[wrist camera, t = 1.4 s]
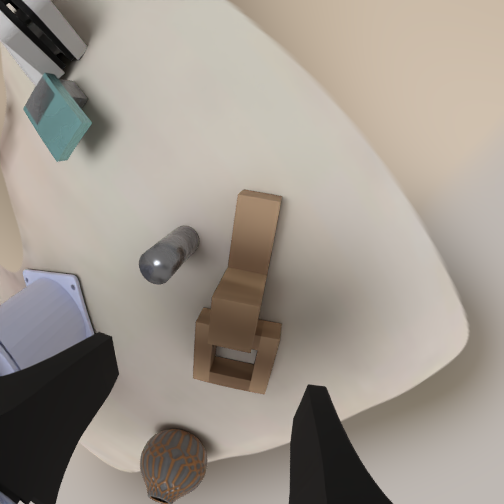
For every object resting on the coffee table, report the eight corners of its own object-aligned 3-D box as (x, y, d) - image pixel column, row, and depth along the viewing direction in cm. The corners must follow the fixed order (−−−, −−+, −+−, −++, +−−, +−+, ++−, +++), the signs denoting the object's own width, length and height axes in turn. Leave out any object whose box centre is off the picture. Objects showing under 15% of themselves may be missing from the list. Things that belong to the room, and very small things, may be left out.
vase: (143, 419, 26) (112, 479, 18) (194, 420, 24) (168, 491, 16) (174, 452, 28) (152, 507, 20) (223, 453, 26) (206, 516, 18)
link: (266, 377, 21) (259, 430, 16) (199, 363, 21) (178, 411, 16) (309, 201, 16) (317, 225, 11) (216, 185, 16) (184, 201, 11)
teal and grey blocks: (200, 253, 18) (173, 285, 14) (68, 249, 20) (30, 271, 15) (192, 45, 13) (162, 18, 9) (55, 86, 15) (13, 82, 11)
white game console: (-1, 35, 13) (-47, -3, 3) (30, 3, 13) (-8, -42, 3) (53, 102, 15) (-24, 50, 6) (96, 58, 15) (41, -17, 6)
